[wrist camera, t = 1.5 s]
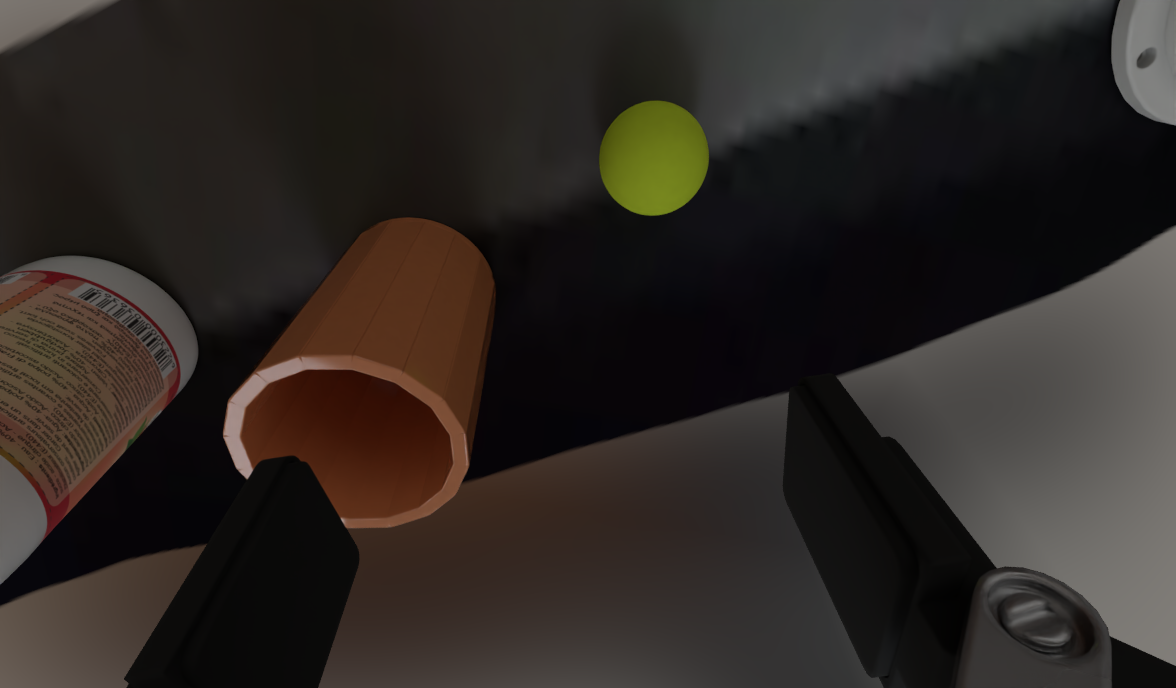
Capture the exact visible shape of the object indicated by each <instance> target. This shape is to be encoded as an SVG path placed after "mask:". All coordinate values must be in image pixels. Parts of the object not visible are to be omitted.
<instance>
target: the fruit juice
mask: <svg viewBox="0 0 1176 688" xmlns="http://www.w3.org/2000/svg"><path fill="white" fill-rule="evenodd" d="M197 359H198V342H197V337H196V334H195V331H194V329H193V326H192V324H191V322H190V320H189V319H188V317H187V316H186V314H185V313H184V311H183V310H182V309H181V307H180V306H179V305H178V304H177V303H176V302H175V301H174V300H173V299H172V298H171V297H170V296H169V295H168V294H167V293H166V292H165V291H164V290H163V289H161V288H160V287H159V286H157V285H156V284H155V283H153V282H152V281H150V280H149V279H147V278H145V277H144V276H142V275H140V274H139V273H137V272H135V271H133V270H131V269H128V268H126V267H124V266H121V265H119V264H116V263H113V262H110V261H106V260H102V259H98V258H93V257H86V256H57V257H51V258H45V259H41V260H38V261H35V262H32V263H29V264H26V265H23V266H21V267H19V268H17V269H15V270H13V271H11V272H9V273H7V274H5V275H3V276H1V277H0V584H1V583H2V582H3V581H4V580H5V579H7V578H8V577H9V576H10V575H11V574H12V573H13V572H14V571H15V570H16V569H17V568H18V567H19V566H20V565H21V564H22V563H23V562H24V561H25V560H26V559H27V558H28V557H29V556H30V554H31V553H32V552H33V551H34V550H35V549H36V548H37V547H38V545H39V544H40V543H41V542H42V541H43V540H44V539H45V537H46V536H47V535H48V534H49V533H50V532H51V531H52V530H53V528H54V527H55V526H56V525H57V524H58V523H59V522H60V521H61V520H62V519H63V518H64V517H65V515H66V514H67V513H68V512H69V511H70V510H71V509H72V508H73V507H74V506H75V505H76V504H77V502H78V501H79V500H80V499H81V498H82V497H83V496H84V495H85V494H86V493H87V492H88V491H89V489H90V488H91V487H92V486H93V485H94V484H95V483H96V482H97V481H98V480H99V479H100V478H101V476H102V475H103V474H104V473H105V472H106V471H107V470H108V469H109V468H110V467H111V466H112V465H113V464H114V462H115V461H116V460H117V459H118V458H119V457H120V456H121V455H122V454H123V453H124V452H125V451H126V449H127V448H128V447H129V446H130V445H131V444H132V443H133V442H134V441H135V440H136V439H137V438H138V436H139V435H140V434H141V433H142V432H143V431H144V430H145V429H146V428H147V427H148V426H149V424H150V423H151V422H152V421H153V420H154V419H155V418H156V417H157V416H158V415H159V414H160V413H161V411H162V410H163V409H164V408H165V407H166V406H167V405H168V404H169V403H170V402H171V401H172V400H173V398H174V397H175V396H176V395H177V394H178V393H179V392H180V391H181V390H182V389H183V387H184V386H185V385H186V383H187V382H188V380H189V379H190V377H191V375H192V374H193V372H194V369H195V366H196V363H197Z"/></svg>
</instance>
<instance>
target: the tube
mask: <svg viewBox="0 0 1176 688" xmlns="http://www.w3.org/2000/svg"><path fill="white" fill-rule="evenodd" d="M495 300H496V288H495V281H494V278H493V274H492V271H491V269H490V267H489V264H488V263H487V261H486V259H485V258H484V256H483V255H482V253H481V252H480V251H479V250H478V248H477V247H476V246H475V245H474V244H473V243H472V242H471V241H470V240H468V239H467V238H466V237H465V236H463V235H462V234H460V233H459V232H457V231H456V230H454V229H452V228H450V227H448V226H446V225H444V224H441V223H438V222H435V221H432V220H427V219H422V218H411V217H408V218H396V219H390V220H387V221H383V222H380V223H378V224H376V225H374V226H372V227H370V228H368V229H367V230H366V231H364V232H363V233H361V234H360V235H359V236H358V237H357V238H356V239H355V241H354V242H353V243H352V244H351V245H350V246H349V248H348V249H347V250H346V251H345V252H344V253H343V254H342V256H341V257H340V258H339V259H338V261H337V262H336V263H335V265H334V266H333V267H332V268H331V270H330V271H329V272H328V273H327V275H326V276H325V277H324V279H323V280H322V281H321V282H320V284H319V285H318V286H317V287H316V289H315V290H314V291H313V292H312V294H311V295H310V296H309V298H308V299H307V300H306V301H305V303H304V304H303V305H302V306H301V308H300V309H299V310H298V312H297V313H296V314H295V315H294V317H293V318H292V319H291V320H290V322H289V323H288V324H287V326H286V327H285V328H284V329H283V331H282V332H281V333H280V334H279V336H278V337H277V338H276V340H275V341H274V342H273V343H272V345H271V346H270V347H269V348H268V350H267V351H266V352H265V354H264V355H263V356H262V357H261V359H260V360H259V361H258V362H257V364H256V365H255V366H254V367H253V369H252V370H251V371H250V373H249V374H248V375H247V376H246V378H245V379H244V380H243V381H242V383H241V384H240V385H239V387H238V388H237V389H236V390H235V392H234V393H233V394H232V395H231V397H230V398H229V400H228V404H227V410H226V417H225V423H224V429H223V438H224V440H225V442H226V445H227V447H228V450H229V452H230V454H231V457H232V459H233V462H234V464H235V466H236V469H238V471H239V472H240V473H241V474H242V475H243V476H244V477H245V478H246V479H248V477H249V476H250V474H251V473H252V471H253V469H254V468H255V466H256V465H257V464H258V463H259V462H260V461H261V460H263V459H270V458H276V457H283V456H290V455H294V456H296V457H298V458H299V459H300V461H305V462H307V463H308V464H309V465H310V467H311V469H312V470H313V472H314V474H315V476H316V477H317V479H318V481H319V482H320V484H321V486H322V487H323V489H324V491H325V493H326V494H327V496H328V498H329V499H330V501H331V503H332V505H333V506H334V508H335V510H336V511H337V513H338V515H339V517H340V518H341V520H342V522H343V523H344V525H345V527H346V528H385V527H394V526H397V525H400V524H404V523H407V522H410V521H413V520H417V519H420V518H423V517H426V516H429V515H430V514H432V513H433V512H434V511H435V510H437V509H438V508H439V507H440V506H442V505H443V504H444V503H446V502H447V501H448V500H450V499H451V498H452V497H454V496H455V495H456V493H457V491H458V489H459V487H460V485H461V483H462V480H463V478H464V476H465V474H466V472H467V470H468V468H469V464H470V458H471V452H472V446H473V440H474V434H475V428H476V422H477V416H478V410H479V404H480V398H481V392H482V386H483V380H484V374H485V368H486V362H487V356H488V350H489V344H490V338H491V332H492V326H493V320H494V314H495V308H496V306H495Z"/></svg>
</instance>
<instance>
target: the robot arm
mask: <svg viewBox="0 0 1176 688" xmlns="http://www.w3.org/2000/svg"><path fill="white" fill-rule="evenodd" d="M1111 62H1112V67H1113V72H1114V77H1115V82H1116V84H1117V86H1118V88H1119V90H1120V92H1121V94H1122V96H1123V97H1124V99H1125V101H1126V102H1127V103H1129V104H1130V105H1131V106H1132V107H1133V108H1134V109H1135V110H1136V111H1137V112H1138V113H1140V114H1142V115H1144V116H1146V117H1148V118H1150V119H1152V120H1154V121H1159V122H1164V123H1168V124H1172V125H1176V0H1120V2H1119V5H1118V9H1117V13H1116V18H1115V23H1114V28H1113V33H1112V52H1111ZM784 462H785V463H784V476H783V491H784V496H785V500H786V502H787V505H788V507H789V509H790V511H791V513H792V516H793V518H794V520H795V522H796V524H797V526H798V528H799V530H800V532H801V535H802V537H803V539H804V541H805V543H806V546H807V548H808V550H809V552H810V554H811V556H812V558H813V560H814V563H815V565H816V567H817V569H818V571H819V573H820V575H821V578H822V580H823V582H824V584H825V586H826V588H827V590H828V593H829V595H830V597H831V599H832V601H833V603H834V606H835V608H836V610H837V612H838V614H839V616H840V619H841V621H842V623H843V625H844V627H845V629H846V631H847V633H848V636H849V638H850V640H851V642H852V644H853V646H854V649H855V651H856V653H857V655H858V657H859V659H860V661H861V664H862V665H863V667H864V669H865V671H866V673H867V674H868V675H869V676H870V677H871V678H874V677H879V679H880V681H881V683H882V685H883V687H884V688H1176V666H1174V665H1172V664H1170V663H1167V662H1165V661H1163V660H1161V659H1159V658H1157V657H1154V656H1152V655H1150V654H1148V653H1146V652H1143V651H1141V650H1139V649H1137V648H1135V647H1132V646H1130V645H1128V644H1126V643H1123V642H1121V641H1119V640H1117V639H1114V638H1112V637H1110V636H1109V632H1108V627H1107V626H1106V624H1105V623H1104V621H1103V620H1102V618H1101V616H1100V615H1099V613H1098V611H1097V610H1096V609H1095V608H1094V607H1093V606H1092V605H1091V604H1090V603H1089V602H1088V601H1087V600H1086V599H1085V598H1084V597H1083V596H1082V595H1081V594H1079V593H1078V592H1076V591H1075V590H1073V589H1072V588H1070V587H1069V586H1067V585H1066V584H1065V583H1063V582H1061V581H1059V580H1057V579H1055V578H1053V577H1051V576H1048V575H1046V574H1044V573H1041V572H1038V571H1034V570H1030V569H1026V568H1019V567H1002V568H996V567H995V566H994V564H993V563H992V562H991V560H990V559H989V558H988V557H987V555H986V554H985V553H984V551H983V550H982V549H981V548H980V546H979V545H978V544H977V543H976V541H975V540H974V539H973V537H972V536H971V535H970V533H969V532H968V531H967V530H966V528H965V527H964V526H963V524H962V523H961V522H960V521H959V519H958V518H957V517H956V516H955V514H954V513H953V512H952V510H951V509H950V508H949V506H948V505H947V504H946V503H945V501H944V500H943V499H942V498H941V496H940V495H939V494H938V492H937V491H936V490H935V488H934V487H933V486H932V485H931V483H930V482H929V481H928V480H927V478H926V477H925V476H924V474H923V473H922V472H921V470H920V469H919V468H918V467H917V466H916V464H915V463H914V462H913V460H912V459H911V458H910V456H909V455H908V454H907V453H906V451H905V450H904V449H903V447H902V446H901V445H900V444H899V443H898V442H897V441H896V440H895V439H893V438H891V437H881V436H880V435H879V433H878V432H877V431H876V429H875V428H874V427H873V425H872V424H871V423H870V421H869V420H868V419H867V417H866V416H865V415H864V414H863V412H862V411H861V409H860V408H859V407H858V406H857V404H856V403H855V402H854V400H853V399H852V397H851V396H850V395H849V393H848V392H847V391H846V389H845V388H844V387H843V385H842V384H841V383H840V381H839V380H838V379H837V377H836V376H835V375H834V374H831V373H830V374H824V375H817V376H810V377H804V378H801V379H800V380H799V382H798V386H796V387H791V388H790V391H789V403H788V418H787V432H786V447H785V461H784ZM358 565H359V551H358V548H357V546H356V544H355V542H354V540H353V539H352V537H351V535H350V534H349V532H348V530H347V528H346V527H345V525H344V523H343V522H342V520H341V518H340V517H339V515H338V513H337V511H336V510H335V508H334V506H333V505H332V503H331V501H330V499H329V498H328V496H327V494H326V493H325V491H324V489H323V487H322V486H321V484H320V482H319V481H318V479H317V477H316V476H315V474H314V472H313V470H312V469H311V467H310V465H309V464H308V463H307V462H305V461H300V459H299V458H298V457H296V456H294V455H290V456H283V457H276V458H270V459H263V460H261V461H260V462H259V463H258V464H257V465H256V466H255V468H254V469H253V471H252V473H251V474H250V476H249V477H248V479H247V481H246V482H245V484H244V486H243V487H242V489H241V490H240V492H239V494H238V495H237V497H236V498H235V500H234V502H233V503H232V505H231V507H230V508H229V510H228V511H227V513H226V515H225V516H224V518H223V519H222V521H221V523H220V524H219V526H218V528H217V529H216V531H215V532H214V534H213V536H212V537H211V539H210V541H209V542H208V544H207V545H206V547H205V549H204V551H203V552H202V553H201V555H200V557H199V559H198V560H197V562H196V563H195V565H194V566H193V568H192V570H191V571H190V573H189V574H188V576H187V578H186V579H185V581H184V583H183V584H182V586H181V587H180V589H179V591H178V592H177V594H176V595H175V597H174V599H173V600H172V602H171V604H170V605H169V607H168V609H167V610H166V612H165V613H164V615H163V617H162V618H161V620H160V621H159V623H158V625H157V626H156V628H155V629H154V631H153V633H152V634H151V636H150V637H149V639H148V641H147V642H146V644H145V646H144V647H143V649H142V651H141V652H140V654H139V655H138V657H137V659H136V660H135V662H134V664H133V665H132V667H131V668H130V670H129V671H128V673H127V675H126V676H125V678H124V680H126V681H127V682H128V683H129V684H128V686H127V688H318V686H319V683H320V680H321V677H322V674H323V671H324V668H325V665H326V662H327V659H328V656H329V653H330V650H331V647H332V644H333V641H334V638H335V635H336V632H337V629H338V626H339V623H340V620H341V617H342V614H343V611H344V608H345V605H346V602H347V599H348V596H349V593H350V590H351V587H352V584H353V581H354V578H355V575H356V572H357V569H358Z"/></svg>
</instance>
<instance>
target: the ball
mask: <svg viewBox="0 0 1176 688" xmlns="http://www.w3.org/2000/svg"><path fill="white" fill-rule="evenodd" d="M708 161H709V150H708V144H707V140H706V137H705V134H704V132H703V130H702V128H701V126H700V125H699V123H698V122H697V120H696V119H695V118H694V117H693V116H692V115H691V114H690V113H689V112H688V111H687V110H685V109H683V108H682V107H680V106H678V105H675V104H673V103H670V102H666V101H647V102H642V103H639V104H636V105H634V106H632V107H630V108H628V109H627V110H625V111H624V112H622V113H621V114H620V115H619V116H618V117H617V118H616V119H615V120H614V121H613V122H612V124H611V125H610V126H609V128H608V129H607V131H606V133H605V135H604V138H603V140H602V143H601V148H600V154H599V166H600V173H601V177H602V180H603V182H604V185H605V187H606V188H607V190H608V192H609V193H610V195H611V196H612V197H613V198H614V199H615V200H616V201H617V202H618V203H619V204H620V205H622V206H623V207H625V208H626V209H628V210H630V211H632V212H635V213H638V214H642V215H661V214H666V213H669V212H672V211H674V210H676V209H678V208H680V207H682V206H683V205H684V204H686V203H687V202H688V201H689V200H690V199H691V198H692V197H693V196H694V195H695V194H696V193H697V191H698V190H699V188H700V186H701V185H702V182H703V180H704V178H705V175H706V172H707V168H708Z"/></svg>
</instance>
